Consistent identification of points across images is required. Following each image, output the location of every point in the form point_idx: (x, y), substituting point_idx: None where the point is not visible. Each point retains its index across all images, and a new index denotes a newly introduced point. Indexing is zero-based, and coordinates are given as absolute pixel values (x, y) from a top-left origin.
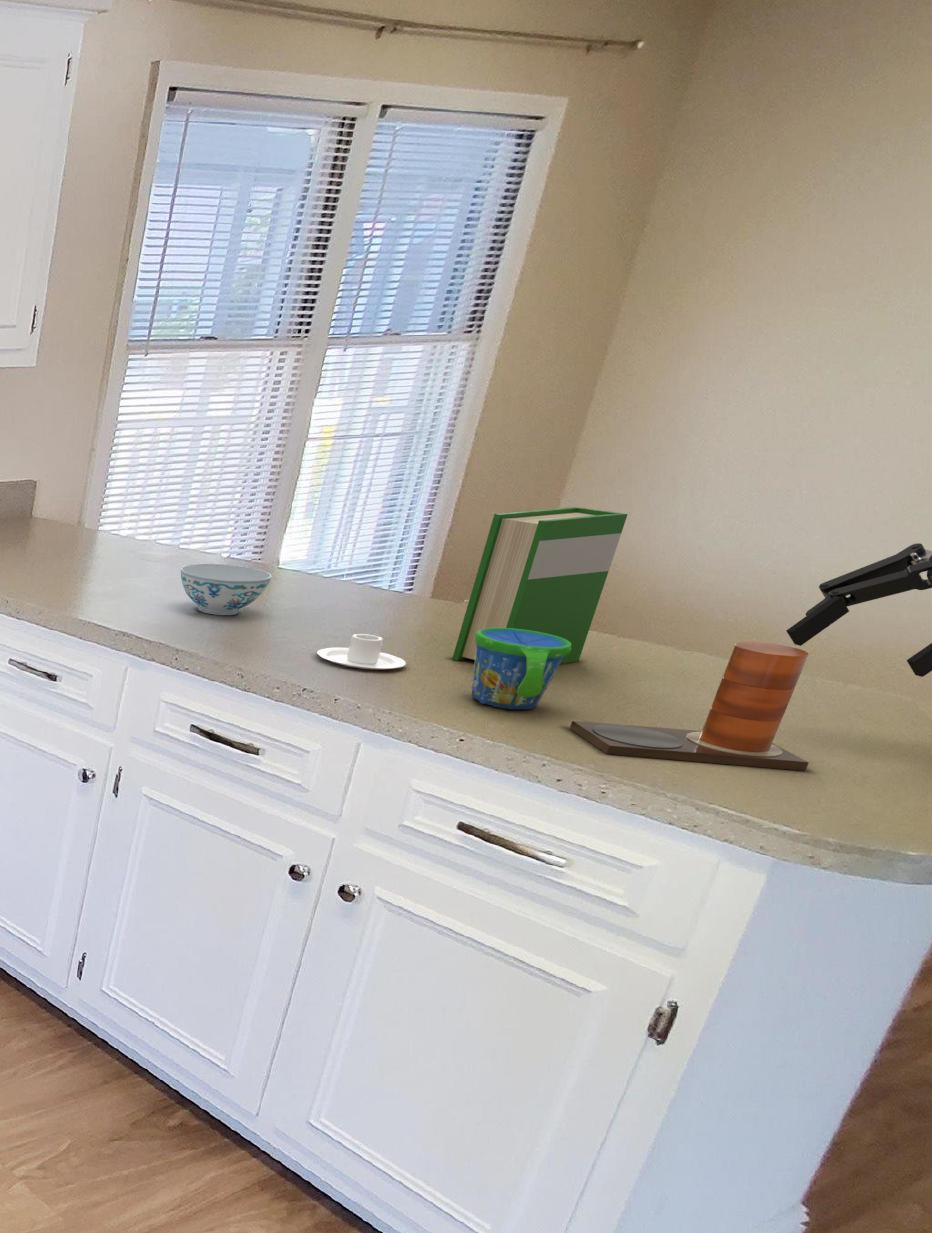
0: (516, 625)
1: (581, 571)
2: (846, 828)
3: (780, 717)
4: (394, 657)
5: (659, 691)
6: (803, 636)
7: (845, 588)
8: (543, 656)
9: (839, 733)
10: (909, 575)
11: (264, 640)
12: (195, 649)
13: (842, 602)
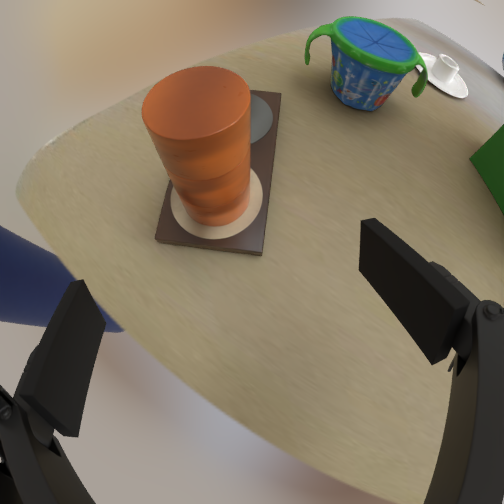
0: (501, 134)
1: None
2: (42, 178)
3: (175, 189)
4: (456, 94)
5: (462, 283)
6: (367, 261)
7: (498, 333)
8: (321, 31)
9: (329, 402)
10: None
11: (462, 62)
12: (413, 21)
13: (444, 326)
